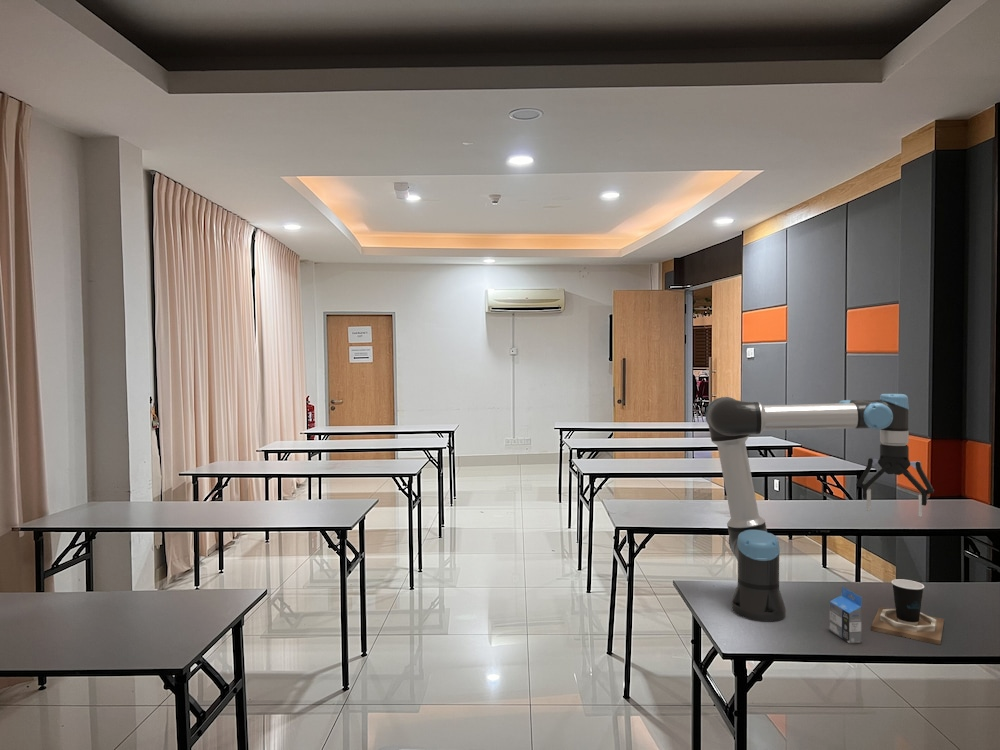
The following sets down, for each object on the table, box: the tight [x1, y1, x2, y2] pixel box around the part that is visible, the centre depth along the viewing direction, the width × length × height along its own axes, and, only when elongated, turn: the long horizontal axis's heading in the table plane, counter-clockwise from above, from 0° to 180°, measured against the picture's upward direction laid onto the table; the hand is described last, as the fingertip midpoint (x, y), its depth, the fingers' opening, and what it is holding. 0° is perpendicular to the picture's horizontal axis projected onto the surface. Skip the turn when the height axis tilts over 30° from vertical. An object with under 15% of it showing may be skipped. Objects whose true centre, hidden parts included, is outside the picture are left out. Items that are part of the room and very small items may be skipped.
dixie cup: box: [891, 578, 925, 625], centre depth 181 cm, size 8×8×11 cm
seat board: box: [870, 606, 945, 645], centre depth 181 cm, size 16×18×3 cm
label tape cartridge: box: [829, 586, 863, 645], centre depth 175 cm, size 9×4×12 cm, turn 5°
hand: (894, 513), depth 197 cm, fingers open, 13 cm apart
